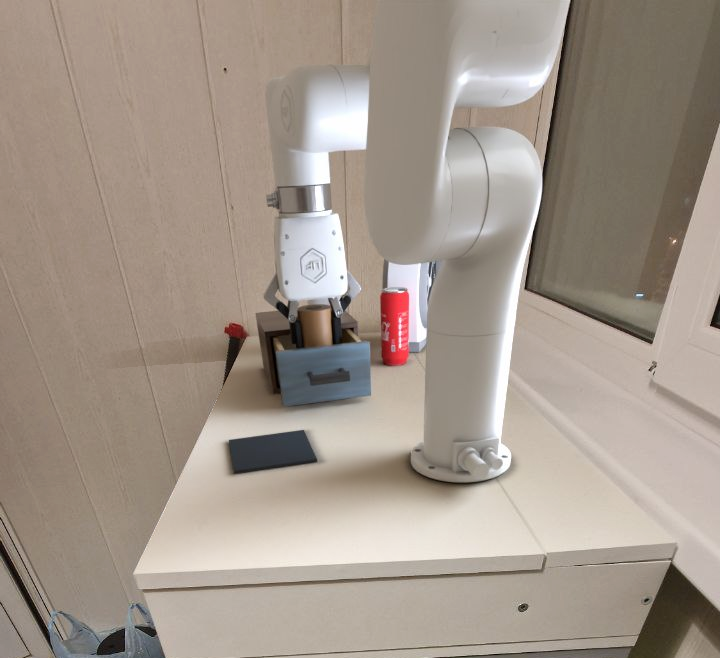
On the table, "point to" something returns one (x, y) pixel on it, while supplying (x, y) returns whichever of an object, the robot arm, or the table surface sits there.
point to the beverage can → (394, 325)
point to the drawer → (322, 370)
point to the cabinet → (279, 325)
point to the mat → (271, 451)
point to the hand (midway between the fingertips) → (317, 345)
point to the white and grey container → (413, 294)
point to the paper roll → (315, 325)
